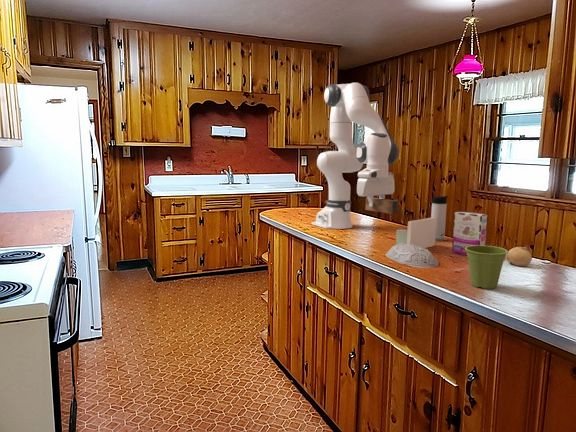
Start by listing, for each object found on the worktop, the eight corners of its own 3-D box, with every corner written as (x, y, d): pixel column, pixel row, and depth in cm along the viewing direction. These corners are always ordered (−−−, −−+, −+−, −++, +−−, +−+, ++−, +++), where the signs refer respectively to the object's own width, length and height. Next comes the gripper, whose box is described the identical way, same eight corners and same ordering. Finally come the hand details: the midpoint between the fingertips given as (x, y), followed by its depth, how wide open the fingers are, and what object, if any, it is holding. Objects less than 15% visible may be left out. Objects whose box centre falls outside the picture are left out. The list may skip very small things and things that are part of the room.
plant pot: (479, 277, 141) (482, 243, 140) (513, 288, 131) (517, 251, 129) (453, 282, 136) (456, 247, 134) (487, 294, 125) (490, 255, 124)
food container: (417, 269, 150) (419, 249, 149) (373, 256, 173) (375, 239, 172) (451, 269, 156) (453, 250, 156) (405, 256, 179) (407, 240, 179)
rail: (365, 209, 187) (365, 196, 186) (370, 208, 189) (371, 196, 188) (392, 213, 176) (392, 200, 175) (397, 213, 179) (398, 199, 178)
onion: (510, 267, 155) (512, 247, 154) (502, 261, 162) (504, 242, 161) (534, 268, 154) (536, 248, 153) (525, 262, 161) (527, 243, 160)
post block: (391, 247, 183) (392, 218, 181) (416, 242, 195) (417, 215, 193) (409, 251, 176) (411, 221, 174) (434, 245, 188) (436, 217, 186)
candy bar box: (484, 256, 170) (488, 214, 167) (478, 258, 167) (481, 215, 164) (457, 251, 178) (460, 210, 176) (451, 252, 175) (454, 211, 172)
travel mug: (446, 241, 196) (449, 196, 193) (430, 240, 198) (433, 196, 194) (444, 238, 202) (446, 195, 199) (429, 238, 204) (431, 194, 201)
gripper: (387, 171, 191) (385, 203, 194) (354, 173, 179) (353, 206, 181) (399, 172, 187) (397, 204, 189) (366, 174, 174) (365, 208, 176)
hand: (375, 205), depth 185 cm, fingers closed on rail, 4 cm apart
